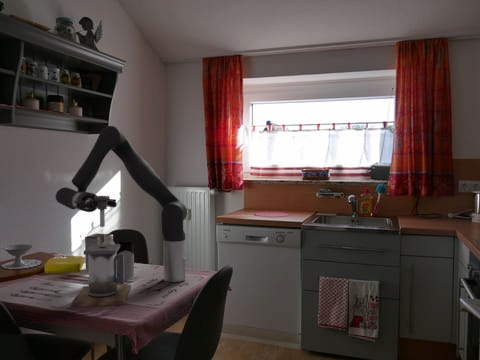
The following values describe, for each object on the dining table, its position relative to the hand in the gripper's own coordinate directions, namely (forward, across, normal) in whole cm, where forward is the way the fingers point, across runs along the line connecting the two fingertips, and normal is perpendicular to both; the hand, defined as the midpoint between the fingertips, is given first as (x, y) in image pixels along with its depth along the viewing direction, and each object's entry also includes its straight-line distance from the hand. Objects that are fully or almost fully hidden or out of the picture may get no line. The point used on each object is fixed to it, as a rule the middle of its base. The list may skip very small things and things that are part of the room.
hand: (104, 205), depth 149 cm
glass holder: (-21, +19, +35) cm, 45 cm away
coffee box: (-39, +15, +35) cm, 54 cm away
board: (-2, 0, +35) cm, 35 cm away
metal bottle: (-17, +10, +35) cm, 40 cm away
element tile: (-50, +4, +35) cm, 62 cm away
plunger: (-2, 0, +8) cm, 8 cm away
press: (-1, +1, +33) cm, 33 cm away
